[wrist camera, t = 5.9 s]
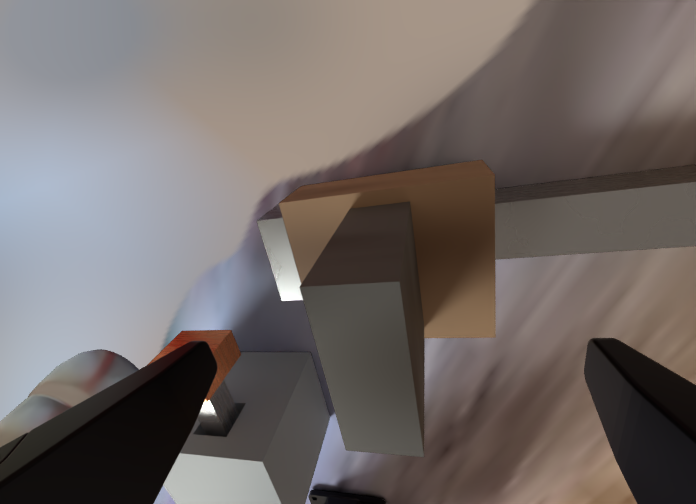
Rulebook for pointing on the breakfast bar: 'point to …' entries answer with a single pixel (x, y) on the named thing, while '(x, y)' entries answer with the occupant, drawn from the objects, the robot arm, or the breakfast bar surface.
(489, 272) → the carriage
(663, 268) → the breakfast bar surface
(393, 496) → the breakfast bar surface
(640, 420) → the robot arm
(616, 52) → the breakfast bar surface
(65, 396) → the plastic bottle
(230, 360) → the plunger
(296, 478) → the block
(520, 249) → the rail
